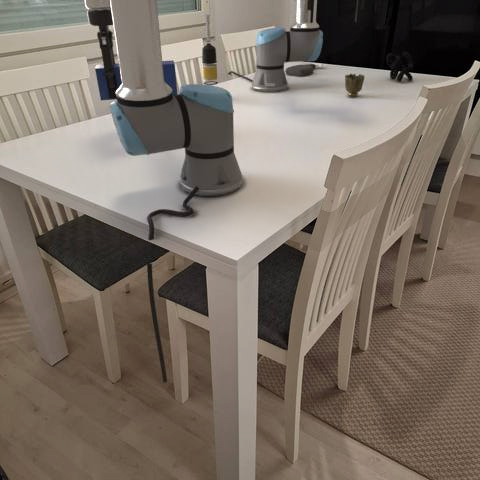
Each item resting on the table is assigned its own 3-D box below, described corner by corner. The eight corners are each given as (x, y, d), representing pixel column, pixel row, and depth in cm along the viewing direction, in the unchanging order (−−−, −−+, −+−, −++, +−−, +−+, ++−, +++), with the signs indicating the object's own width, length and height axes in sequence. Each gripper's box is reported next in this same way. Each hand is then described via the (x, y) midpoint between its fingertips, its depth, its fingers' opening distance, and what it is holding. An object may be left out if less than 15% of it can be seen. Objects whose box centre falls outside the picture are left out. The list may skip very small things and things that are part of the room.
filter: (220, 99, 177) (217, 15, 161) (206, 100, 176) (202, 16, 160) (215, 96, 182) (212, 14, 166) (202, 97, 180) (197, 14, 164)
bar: (100, 100, 132) (94, 68, 127) (101, 95, 136) (96, 64, 132) (177, 95, 135) (174, 63, 131) (176, 90, 140) (173, 60, 135)
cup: (340, 97, 177) (342, 76, 172) (346, 93, 182) (348, 72, 178) (359, 99, 174) (362, 78, 169) (364, 95, 179) (366, 74, 175)
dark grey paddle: (283, 74, 214) (310, 66, 231) (302, 77, 208) (328, 69, 225) (283, 67, 213) (310, 60, 229) (302, 70, 207) (329, 62, 223)
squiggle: (400, 92, 202) (376, 71, 205) (417, 76, 202) (392, 56, 205) (405, 81, 191) (380, 59, 194) (423, 64, 191) (397, 42, 194)
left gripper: (113, 11, 115) (126, 102, 127) (116, 5, 130) (127, 87, 143) (83, 12, 114) (99, 104, 126) (89, 6, 129) (103, 88, 142)
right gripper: (384, -63, 126) (373, 20, 137) (295, -61, 128) (292, 21, 139) (389, -64, 120) (378, 23, 131) (296, -62, 122) (292, 24, 133)
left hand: (114, 95), depth 134 cm, fingers closed on bar, 5 cm apart
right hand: (333, 22), depth 135 cm, fingers open, 13 cm apart
